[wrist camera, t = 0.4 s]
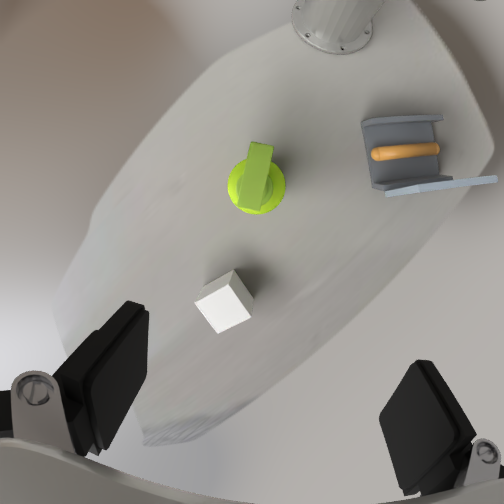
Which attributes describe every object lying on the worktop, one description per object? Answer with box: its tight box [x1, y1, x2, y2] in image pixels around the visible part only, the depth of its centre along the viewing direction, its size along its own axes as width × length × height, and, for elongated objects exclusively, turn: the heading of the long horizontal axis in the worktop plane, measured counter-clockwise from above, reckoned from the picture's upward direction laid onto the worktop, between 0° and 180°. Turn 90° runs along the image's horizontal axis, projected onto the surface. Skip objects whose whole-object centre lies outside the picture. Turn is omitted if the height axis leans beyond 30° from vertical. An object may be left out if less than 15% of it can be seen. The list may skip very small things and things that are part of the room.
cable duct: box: [361, 115, 453, 191], centre depth 36 cm, size 10×12×5 cm
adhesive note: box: [195, 270, 254, 334], centre depth 45 cm, size 6×6×6 cm
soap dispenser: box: [228, 142, 286, 214], centre depth 32 cm, size 6×7×20 cm
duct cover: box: [385, 175, 498, 197], centre depth 30 cm, size 11×12×1 cm
